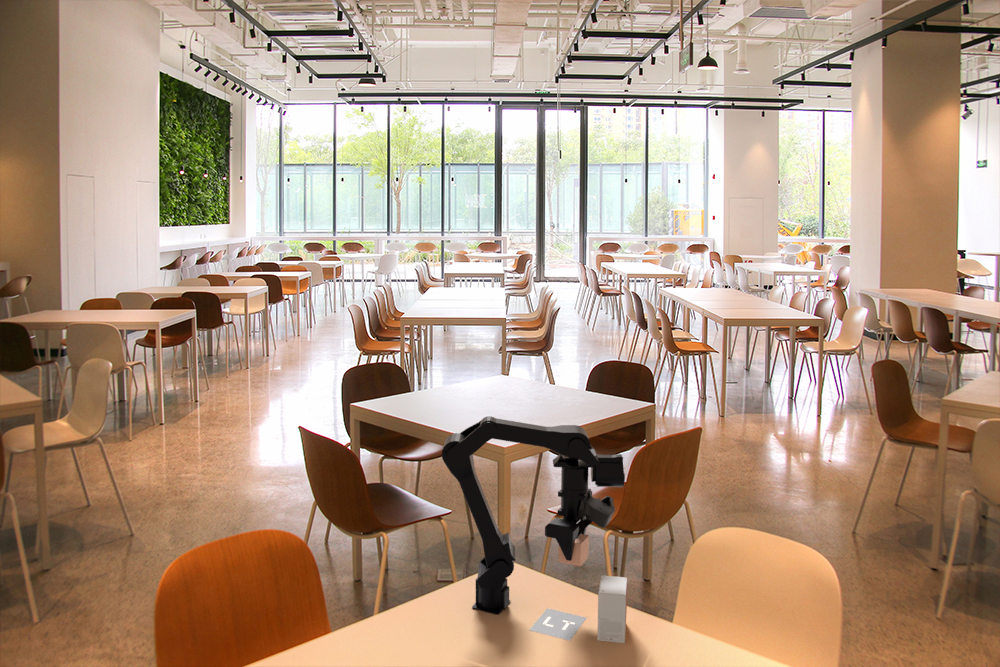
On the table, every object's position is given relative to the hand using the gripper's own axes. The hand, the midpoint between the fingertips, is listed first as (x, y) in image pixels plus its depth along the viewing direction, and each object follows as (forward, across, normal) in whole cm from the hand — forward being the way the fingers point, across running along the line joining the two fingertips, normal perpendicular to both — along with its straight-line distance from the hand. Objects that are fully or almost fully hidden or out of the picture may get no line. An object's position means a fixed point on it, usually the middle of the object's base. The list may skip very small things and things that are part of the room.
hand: (573, 555), depth 166 cm
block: (+1, 0, 0) cm, 1 cm away
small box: (+12, -6, -11) cm, 18 cm away
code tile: (+12, -8, 0) cm, 15 cm away
